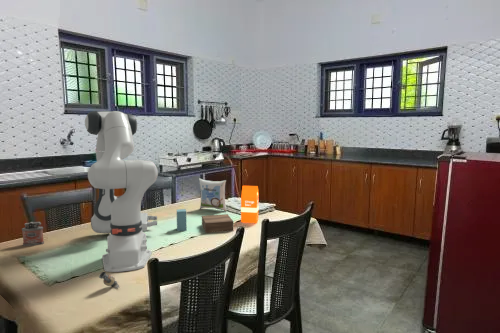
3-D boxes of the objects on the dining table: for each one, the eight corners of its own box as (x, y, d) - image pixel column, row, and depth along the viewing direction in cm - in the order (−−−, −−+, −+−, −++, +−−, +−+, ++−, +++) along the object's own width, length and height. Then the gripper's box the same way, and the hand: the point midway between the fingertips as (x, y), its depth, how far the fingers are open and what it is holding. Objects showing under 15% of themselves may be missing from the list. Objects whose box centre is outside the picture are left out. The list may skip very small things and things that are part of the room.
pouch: (203, 207, 217) (203, 177, 215) (229, 210, 209) (229, 179, 207) (196, 209, 210) (196, 178, 208) (222, 213, 202) (222, 181, 200)
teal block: (186, 230, 169) (186, 211, 168) (177, 231, 167) (177, 211, 166) (185, 227, 173) (185, 209, 172) (176, 228, 172) (176, 209, 171)
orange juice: (256, 223, 182) (257, 187, 180) (240, 222, 183) (240, 186, 181) (258, 219, 190) (258, 184, 187) (243, 218, 191) (243, 184, 189)
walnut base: (233, 230, 169) (233, 221, 168) (205, 233, 165) (205, 223, 164) (227, 223, 182) (227, 214, 181) (201, 225, 178) (201, 215, 177)
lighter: (21, 246, 145) (20, 224, 144) (24, 243, 148) (23, 221, 147) (42, 244, 147) (41, 222, 146) (45, 242, 150) (43, 220, 149)
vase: (102, 294, 104) (100, 275, 104) (98, 289, 109) (96, 271, 108) (120, 289, 107) (118, 271, 107) (115, 284, 112) (113, 266, 111)
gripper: (125, 222, 152) (157, 219, 156) (129, 211, 172) (156, 209, 176) (126, 235, 153) (157, 232, 157) (129, 222, 173) (157, 221, 176)
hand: (157, 220), depth 166 cm, fingers open, 8 cm apart
